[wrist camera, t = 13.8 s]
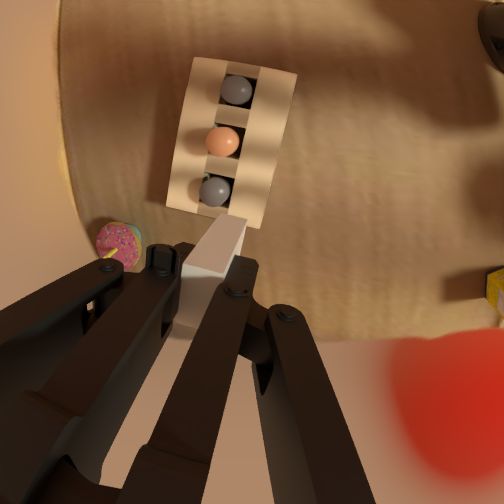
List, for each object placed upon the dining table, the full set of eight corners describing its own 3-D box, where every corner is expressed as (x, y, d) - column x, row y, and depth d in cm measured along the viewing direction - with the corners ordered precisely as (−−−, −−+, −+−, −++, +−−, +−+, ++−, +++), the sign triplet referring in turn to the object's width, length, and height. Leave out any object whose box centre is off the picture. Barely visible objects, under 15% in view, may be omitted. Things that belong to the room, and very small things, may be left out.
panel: (203, 63, 40) (194, 56, 35) (296, 79, 39) (297, 74, 35) (177, 198, 49) (165, 206, 44) (262, 218, 48) (259, 229, 44)
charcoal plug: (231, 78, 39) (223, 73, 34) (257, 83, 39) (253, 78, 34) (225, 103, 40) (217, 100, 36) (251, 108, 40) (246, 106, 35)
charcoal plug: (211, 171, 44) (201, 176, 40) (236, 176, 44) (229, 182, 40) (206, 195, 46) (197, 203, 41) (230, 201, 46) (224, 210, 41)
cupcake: (134, 205, 50) (96, 228, 39) (160, 246, 52) (129, 278, 41) (102, 228, 52) (64, 254, 42) (127, 266, 55) (94, 298, 44)
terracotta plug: (218, 124, 40) (209, 124, 35) (245, 130, 40) (239, 130, 35) (212, 150, 42) (203, 154, 37) (239, 156, 42) (232, 160, 37)
